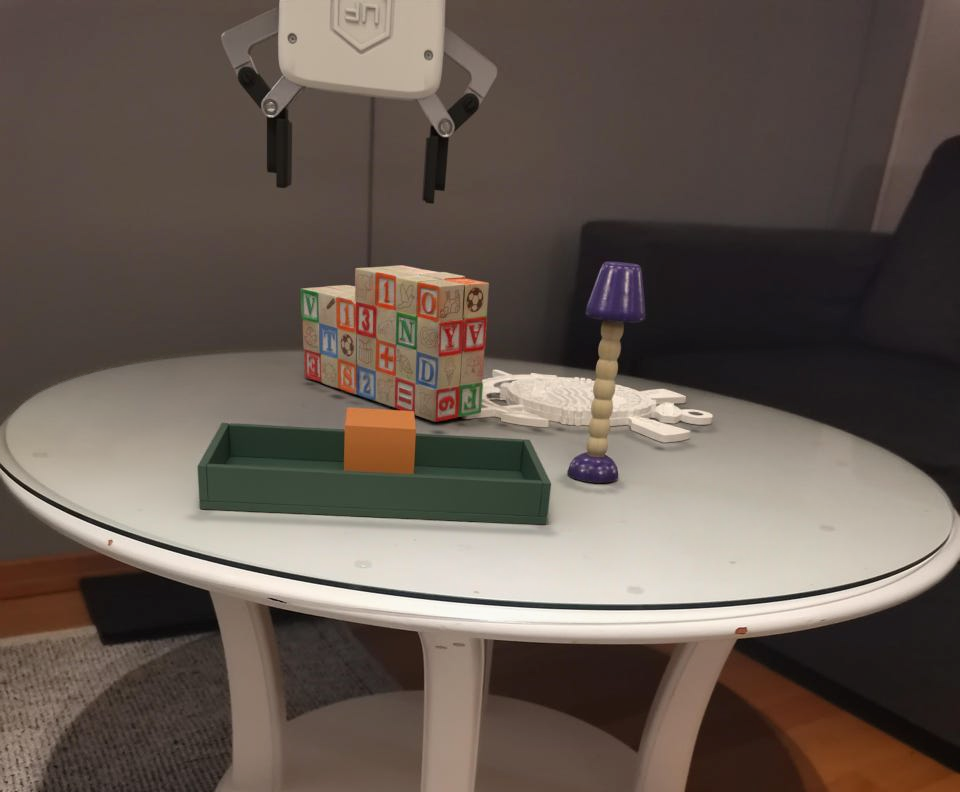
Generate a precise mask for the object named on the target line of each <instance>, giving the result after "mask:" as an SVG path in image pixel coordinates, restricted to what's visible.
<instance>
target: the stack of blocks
mask: <svg viewBox="0 0 960 792" xmlns="http://www.w3.org/2000/svg"><path fill="white" fill-rule="evenodd" d="M489 287H490V284H489V282H487V281H480V280H477V279H476V280H475V279H472V278H471V279H470V278H466V276H465V275H461V274H456V273H450V272H446V271H434V270H430V269H429V270H428V269H422V268H419V267H413V266H408V265H404V264H403V265H400V264H399V265H385V266H373V267H356V268H355V269H354V285H349V284H342V285H326V286H325V285H324V286H320V287H319V286H318V287H317V286H316V287H305V288H300V314H301V319H302V340H303V341H302V343H303V344H302V347H303V365H304V367H303V368H304V377H305V378H307V379H310V380H312V381H315V382H319V383H322V384H324V385H326V386H329V387H332V388H335V389H339V390H341V391H344V392H346V393H349V394H353V395H355V396H356V395H357V396H358V397H359V396H360V397H363V398H365V399H368V400H371V401H374V402H377V403H380V404H383V405H385V406H388V407H392V408H395V409H396V410H401V411H414V416H417V417H419V418H422V419H425V420H428V421H430V422H434V423H437V422H442V421H448V420H452V419H458V418H461V417H462V416H467V415H472V414H477V413H481V405H482V391H483V382H482V380H483V379H484V367H485V366H484V364H485V349H486V344H487V343H486V342H487V328H488V327H487V325H488V305H489V304H488V303H489V290H490V289H489Z"/></svg>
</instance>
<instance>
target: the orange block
mask: <svg viewBox="0 0 960 792" xmlns="http://www.w3.org/2000/svg"><path fill="white" fill-rule="evenodd" d="M416 425H417V424H416V415H415V414H414V411H402V410H399V409H384V408H383V409H381V408H380V409H379V408H364V407H346V414H345V420H344V429H345V439H344V471H362V472H382V473H402V474H414V459H415V440H416V433H417V426H416Z"/></svg>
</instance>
